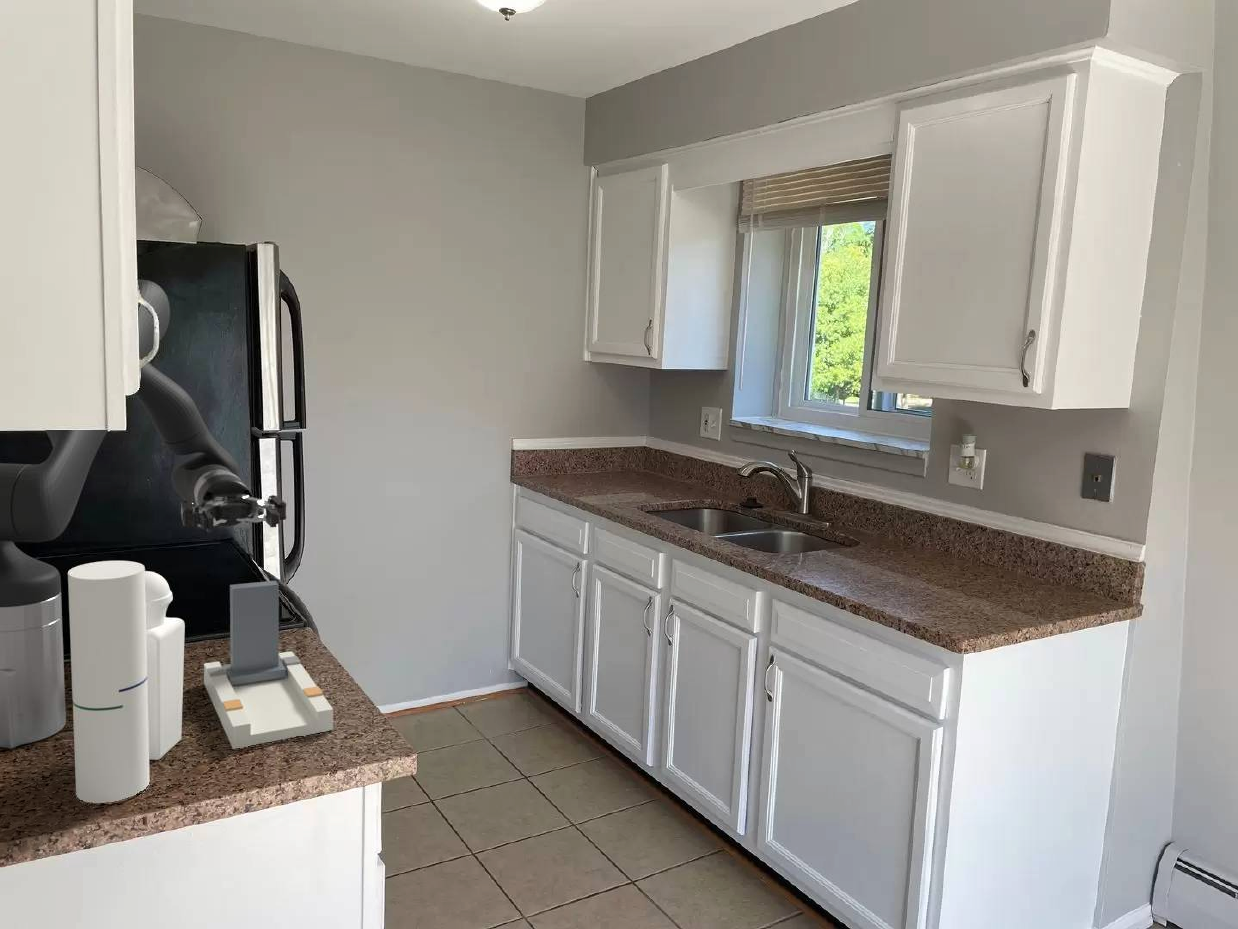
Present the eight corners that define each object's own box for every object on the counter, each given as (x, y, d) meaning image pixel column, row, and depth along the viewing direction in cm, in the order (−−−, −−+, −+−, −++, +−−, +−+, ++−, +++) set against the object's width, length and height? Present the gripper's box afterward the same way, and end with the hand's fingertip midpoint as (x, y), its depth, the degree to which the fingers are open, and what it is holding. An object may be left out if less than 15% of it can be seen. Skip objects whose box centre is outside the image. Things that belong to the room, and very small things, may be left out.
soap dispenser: (187, 738, 115) (185, 566, 112) (160, 763, 109) (157, 581, 105) (135, 734, 115) (131, 562, 112) (105, 759, 109) (100, 578, 105)
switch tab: (223, 673, 131) (222, 582, 129) (278, 665, 135) (278, 577, 133) (229, 686, 127) (229, 592, 124) (286, 677, 130) (286, 587, 128)
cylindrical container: (162, 786, 104) (158, 570, 99) (96, 812, 98) (89, 583, 94) (128, 766, 107) (122, 557, 103) (63, 790, 102) (54, 569, 98)
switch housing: (204, 683, 131) (203, 661, 130) (291, 670, 137) (292, 649, 137) (233, 749, 113) (233, 724, 112) (332, 731, 119) (333, 707, 119)
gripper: (172, 476, 142) (188, 501, 129) (269, 471, 150) (294, 494, 136) (173, 523, 144) (189, 553, 130) (269, 516, 151) (294, 543, 138)
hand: (243, 523), depth 133 cm, fingers open, 8 cm apart
